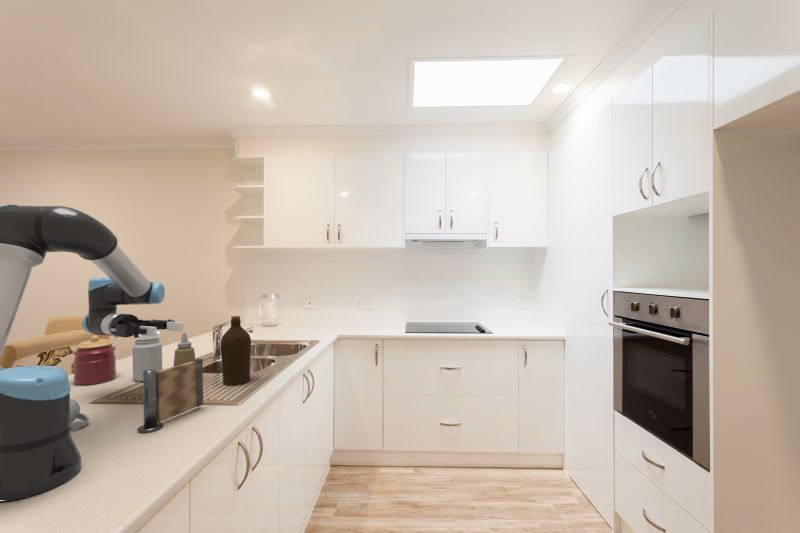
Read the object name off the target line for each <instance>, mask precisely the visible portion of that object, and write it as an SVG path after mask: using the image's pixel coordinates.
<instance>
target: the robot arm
mask: <svg viewBox="0 0 800 533" xmlns="http://www.w3.org/2000/svg"><path fill="white" fill-rule="evenodd" d="M118 242H119V241H118V238H117V236H116V235H115V234H114V233H113V232H112V231H111V229H109V227H107V226H106V225H105V224H103V223H102V222H101V221H99V220H98V219H97V218H95V217H92V216H91V215H89V214H87V213H85V212H83V211H81V210H78V209H76V208H73V207H69V206H65V205H63V206H62V205H47V206H46V205H18V204H2V205H0V359H1V357H2V355H3V353H4V352H3V351H4V349H5V347H6V343H7V341H8V338H9V335H10V332H11V331H12V326H13V324H14V321H15V318H16V315H17V312H18V310H19V307H20V305H21V302H22V299H23V296H24V292H25V290H26V287H27V284H28V282H29V278H30V275H31V273H32V270H33V268H34V267H37V266H39V265H42V264H43V262H44V260H45V257H46V254H47V253H60V252H61V253H62V252H63V253H72V254H76V255H78V256H79V257H80V258H82V259H84V260H86V261H91V262H92V263H93V264H94V265H95V266H96V267H97V268H98V269H99V270H101V272H103V273H104V274H105V275H106V276H107V277H93V278H90V279H89V280H88V287H87V288H88V289H87V295H88V296H87V297H88V299H87V300H88V314H86V315H85V316H84V317H83V319H82V321H81V325H82V326H81V327H82V329H83V330H84V331H85V332H87V333H89V334H92V335H97V336H112V337H114V338H115V339H116V338H117V339H118V337H119V338H132V337H133V339H134V338H138V337H139V334H140V335H142V336H152V337H155V336H157V331H158V330H166V331H170V332H184V322H181V321H179V322H178V321H176V320H174V319H173V320H172V319H171V318H169V319H164V320H163V319H161V320H160V319H139V318H138V317H137V316H136V315H134V314H131V313H130V314H129V313H118V312H117V307H118V305H119V306H124V305H125V306H128V305H133V306H134V305H149V306H150V305H153V304H154V305H156V304H160V303H162V302H163V301H164V299H165V295H166V291H165V290H166V289H165V287H164V284H163V283H162V282H158V281H157V282H156V281H152V282H151V281H150V280H149V279H148V278H147V276H145V274H144V273H143V272H142V271H141V270H140V269H139V268H138V266H137V265H136V264H135V263H134V262H133V261H132V259H130V257H129V256H128V255H127V253H126V252H124V250H123V249H122V248H121V247H120V246H119V245H118V244H119V243H118ZM69 380H70V379H69V375H68V373H67V371H65V369H63V368H61V367H57V366H52V365H39V364H38V365H26V366H15V367H14V366H13V367H10V368H3V367H2V365H0V500H6V501H5V502H8V501H7V500H11V501H16V499H17V500H21V499H24V498H28V497H32V496H35V495H39V494H41V493H44V492H46V491H49V490H51V489H54V488H57V487H58V486H60V485H62V484H64V483H66V482H67V481H69V480H70V479H72V478H73V477H75V476H76V475H77V474H78V473H79V472H80V471H81V469H82V457H81V453H80V451H79V450H78V448H77V445H76V443H75V442H74V439H73V438H72V435H71V428H70V398H71V397H70V396H71V394H70V393H71V385H70V381H69Z"/></svg>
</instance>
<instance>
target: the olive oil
mask: <svg viewBox="0 0 800 533" xmlns="http://www.w3.org/2000/svg"><path fill="white" fill-rule="evenodd" d="M230 318H231V320H230V327H229V328H228V329H227V331H226V332H224V334H223V336H222V337H221V339H220V353H221V356H220V357H221V372H222V384H223V385H224V386H227V387H230V386H231V387H232V386H233V387H234V386H240V385H244V384H247V383H249V382H250V381H251V380H250V379H251V353H252V351H251V350H252V349H251V348H252V339H251V336H250V334H249V333H248V332H247V330H245V328H243V327H242V326H241V321H242V320H241V316H240V315H233V316H231V317H230Z"/></svg>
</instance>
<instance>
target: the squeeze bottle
mask: <svg viewBox="0 0 800 533" xmlns="http://www.w3.org/2000/svg"><path fill="white" fill-rule="evenodd" d="M173 358H174V359H173V366H172V367H174V366H178V365H181V364H185V363H188V362H192V360H194V359H196V354H195V348H194V347H192V342H191V341H189V339H188V335H187V332H186V333H182V335H181V339H180V342H178V343H177V348H176V349H175V350H174V357H173Z"/></svg>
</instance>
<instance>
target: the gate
mask: <svg viewBox="0 0 800 533" xmlns="http://www.w3.org/2000/svg"><path fill="white" fill-rule="evenodd" d="M173 366H174V365H173ZM173 366H171V367H167V368H162V370H160V371H156V395H157V422H164V421H167V420H168V419H171V418H174V417H175V416H178V415H182V414H183V413H186V412H188V411H190V410H194V409H195V408H198V407H201V406H203V405H204V377H203V376H204V375H203V372H204V370H203V368H204V367H203V358H199V357H198V358H195V359H194V360H192V362H188V363H185V364H181V365H178V366H174V367H173Z"/></svg>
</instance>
